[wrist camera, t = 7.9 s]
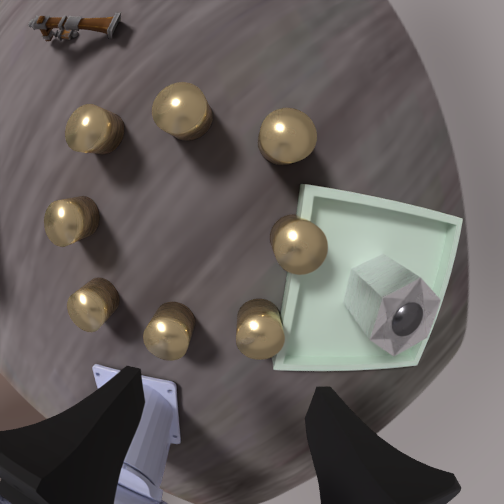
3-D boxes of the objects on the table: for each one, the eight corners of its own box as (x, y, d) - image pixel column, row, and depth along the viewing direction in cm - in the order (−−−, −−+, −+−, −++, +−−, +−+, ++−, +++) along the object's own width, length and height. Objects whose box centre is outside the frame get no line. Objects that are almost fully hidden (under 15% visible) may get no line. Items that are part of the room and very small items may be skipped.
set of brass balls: (293, 348, 20) (299, 372, 17) (76, 317, 19) (58, 334, 16) (330, 114, 16) (346, 103, 13) (78, 104, 15) (56, 95, 12)
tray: (409, 356, 21) (416, 365, 19) (272, 358, 20) (273, 369, 19) (451, 215, 18) (462, 218, 16) (300, 183, 17) (305, 184, 16)
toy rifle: (43, 30, 12) (31, 10, 8) (120, 34, 15) (120, 10, 12) (35, 47, 12) (21, 29, 8) (113, 50, 16) (111, 29, 12)
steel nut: (389, 320, 19) (420, 354, 14) (338, 318, 19) (363, 358, 14) (407, 256, 18) (447, 280, 13) (355, 250, 18) (389, 274, 13)
